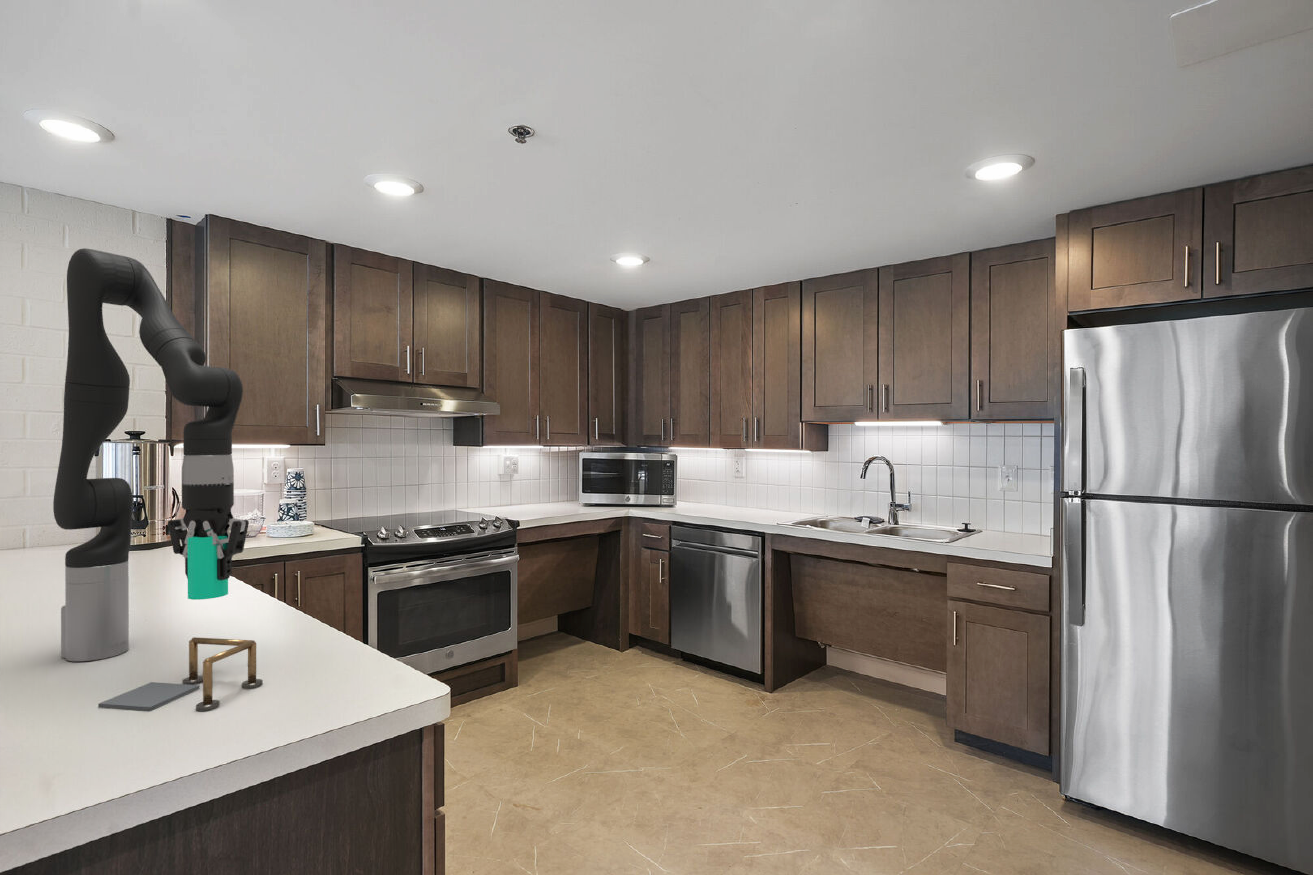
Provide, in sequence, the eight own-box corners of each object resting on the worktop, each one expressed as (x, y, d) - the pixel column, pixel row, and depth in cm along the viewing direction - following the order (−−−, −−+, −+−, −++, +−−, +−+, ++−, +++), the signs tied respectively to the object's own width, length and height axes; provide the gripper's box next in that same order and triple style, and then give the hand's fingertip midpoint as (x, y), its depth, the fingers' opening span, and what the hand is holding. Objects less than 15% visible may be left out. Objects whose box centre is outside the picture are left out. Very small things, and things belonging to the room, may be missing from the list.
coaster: (98, 707, 102) (98, 703, 102) (151, 685, 111) (151, 682, 111) (150, 711, 101) (149, 707, 101) (199, 688, 110) (199, 685, 110)
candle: (208, 600, 113) (208, 529, 113) (178, 598, 114) (177, 528, 114) (236, 592, 119) (236, 524, 119) (207, 590, 120) (207, 523, 120)
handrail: (127, 706, 103) (127, 657, 103) (193, 678, 114) (192, 634, 114) (208, 712, 100) (208, 661, 100) (266, 682, 112) (266, 638, 112)
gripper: (152, 482, 114) (152, 582, 114) (228, 482, 112) (229, 584, 112) (188, 479, 121) (189, 573, 121) (261, 479, 119) (261, 575, 119)
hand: (208, 578), depth 117 cm, fingers closed on candle, 5 cm apart
